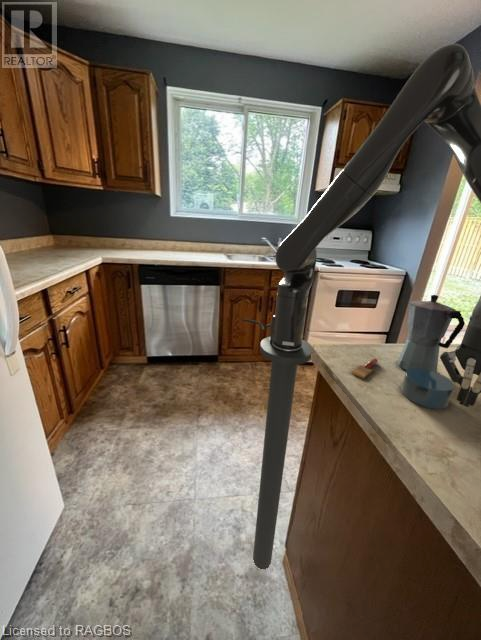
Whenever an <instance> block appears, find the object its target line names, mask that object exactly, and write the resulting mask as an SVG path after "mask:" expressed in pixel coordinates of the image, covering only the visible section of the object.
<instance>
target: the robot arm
mask: <svg viewBox="0 0 481 640" xmlns="http://www.w3.org/2000/svg"><path fill="white" fill-rule="evenodd" d="M423 122H424V123H425V124H427V125H428V126H429V127H430V129H432V130H433V131H434V132H435V133H436V134H438V136H439V137H441V139H442V140H443V141H444V143H445V144H446V145H447V146H448V148H449V149H450V151H451V153H452V154H453V156H454V158H455V160H456V162H457V164H458V166H459V169H460V171H461V173H462V176H464V179H465V181H466V182H467V184H468V185H469V187H470V189H471V191H472V192H473V193H474V195H475V197H476V199H477V200H478V201H479V203H480V204H481V102H480V99H479V95H478V92H477V89H476V86H475V75H474V70H473V65H472V63H471V59H470V56H469V53H468V51H467V50H466V48H465V47H464V46H463V45H461V44H459V43H449V44H447V45H444V46H441V47H440V48H438V49H437V50H435V51H433V52H432V53H431V54H429V56H427V57H426V58H425V59H424V60H423V61H422V62H421V63H420V64H419V65H418V67H417V68H416V69H415V70H414V71H413V73H412V74H411V75H410V77H409V78H408V80H407V81H406V83H405V84H404V86H403V87H402V89H401V90H400V91H399V93H398V94H397V96H396V98H395V99H394V100H393V101H392V103H391V105H390V107H388V110H387V111H386V112H385V114H384V115H383V117H382V118H381V120H379V122H378V124H377V125H376V126H375V128H374V129H373V130H372V131H371V133H370V134H369V135H368V137H367V138H366V139H365V141H364V142H363V143H362V144H361V146H360V147H359V148H358V150H356V152H355V153H354V155H353V156H352V157H351V159H350V160H349V161H348V162H347V163H346V165H345V166H344V167H343V168H342V169H341V171H340V172H339V173H338V174H337V175H336V177H335V178H334V180H333V181H332V182H331V183H330V185H328V187H327V189H326V190H325V191H324V192H323V194H322V195H321V197H320V198H319V199H318V200H317V201H316V203H315V204H314V205H313V206H312V208H311V210H310V211H309V212H308V213H307V215H306V216H305V217H304V219H302V221H301V222H300V223H299V224H298V225H297V226H296V227H295V228H294V229H293V230H292V231H291V233H290V234H288V236H286V238H285V239H283V241H282V242H281V243H280V244H279V245H278V247H277V250H276V253H275V264H276V266H277V268H278V269H279V270H280V271H281V272H284V274H283V277H282V279H281V280H280V282H279V283H278V284H277V288H276V289H277V290H276V300H275V311H274V315H272V317H271V322H270V324H266V325H263V323H261V322H260V321H257V320H254V319H253V320H252V319H247V318H242V320H241V321H243V322H247V323H253V324H257V325H259V326H260V327H261V330H262V331H267V329H268V328H269V332H270V336H269V337H270V344H272V346H273V347H274V348H275V349H277V350H279V351H283V352H297V351H299V350H301V347H302V340H303V338H304V330H305V322H306V315H307V308H308V301H309V293H310V289H311V288H312V285H313V282H314V277H315V271H316V265H317V259H318V257H317V255H318V254H317V253H318V251H317V247H318V246H319V245H320V243H322V241H323V240H324V239H325V238H326V237H327V236H329V235H330V234H331V233H332V232H334V231H335V230H336V229H338V228H339V227H341V226H342V225H343V224H344V223H346V222H347V221H348V220H350V219H351V218H352V217H354V215H356V214H357V213H358V212H359V211H360V210H361V209H362V208H363V207H364V206H365V205H366V204H367V202H368V201H369V200H371V198H372V197H373V196H374V195H375V194H376V192H377V191H378V190H379V189H380V187H381V186H382V184H383V183H384V181H385V179H386V177H387V176H388V174H389V172H390V170H391V168H392V166H393V164H394V161H395V159H396V158H397V156H398V154H399V152H400V151H401V150H402V147H403V146H404V145H405V143H406V142H407V140H408V139H409V138H411V135H413V134H414V133H415V131H416V130H417V129H418V128H419V127H420V126H421V125H422V124H423ZM456 358H457V359H456ZM439 359H440V361H441V363H442V364H443V366H444V369H445V370H446V373H447V375H448V376H449V379H450V381H451V382H452V383H456V384H458V385H459V386H460V388H459V391H458V394H457V396H456V401H457V402H459V405H461V406H464V407H466V408H469V406H471V407H473V406H474V405H475V404H476V401H477V399H478V397H479V395H480V394H481V294H480V295H479V298H478V300H477V302H476V304H475V305H474V308H473V310H472V313H471V315H470V316H469V320H468V324H467V325H466V329H465V332H464V335H463V337H462V339H461V343H460V345H458V346H457V347H456V348H455V350H453V351H443V352H442V353H441V355H440V356H439ZM456 360H458V363H459V365H460V368H461V369H462V370H463V371H464V372H463V376H462V375H461V372H460V371H459V369H458V366H457V365H456V363H455V362H456ZM474 375H476V376H477V378H476V379H475V381H474V383H473V384H472V381H473V377H474ZM471 385H472V386H471Z"/></svg>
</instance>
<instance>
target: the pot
mask: <svg viewBox="0 0 481 640" xmlns="http://www.w3.org/2000/svg"><path fill="white" fill-rule="evenodd" d="M454 389H455V384H454V382H453V381H452V380H451V379H450V378H448V377H446V376H445V375H443V374H441V372H438V371H437V372H435V371H432V370H430V371H429V370H425V369H419V368H412V369H408V370H405V372H404V376H403V380H402V383H401V386H400V392H401V394H402V395H403V397H405V398H406V399H408V400H409V401H411V402H412V403H414V404H416V405H418V406H421V407H424V408H429V409H434V410H443V409H445V408H447V407H448V406H449V403H450V400H451V397H452V395H453V394H454V393H453V392H454Z"/></svg>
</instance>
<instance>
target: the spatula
mask: <svg viewBox="0 0 481 640" xmlns="http://www.w3.org/2000/svg"><path fill="white" fill-rule="evenodd" d="M377 363H378V359H377V358H375V357H374V358H372V359H371V360H370V361H368V362H367V363H366V364H364V365H362V364H361V365H359V366H357V368H355V369H354V370H352V371H351V373H352V375H354V376H356V377H359V378H361V379H365V378H366V377H368V376H369V375H370V374H371V373H372V372H373V369H372V367H374V366H375V365H376V364H377Z"/></svg>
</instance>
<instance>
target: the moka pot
mask: <svg viewBox="0 0 481 640" xmlns="http://www.w3.org/2000/svg"><path fill="white" fill-rule="evenodd" d="M438 299H439V296H438V295H437V294H432V295H431V294H430V300H411V301H410V303H409V307H408V317H407V318H408V319H407V328H406V329H407V338H406V340H405V342H404V345H403V348H402V350H401V353H400V354H399V357H398V360H397V365H398V367H400V368H401V369H403V370H405V371H407V370H408V369H412V368H419V369H425V370H429V371H430V370H432V371H435V372H438V365H439V357H440V356H439V354H440V348H444V349H449V347H450V346H451V345H452V343H453V342H454V341H455V340H456V338H457V336H458V335H459V334H460V333H461V331H463V329H464V326H465V324H466V322H465V319H464V317H463V316H462V313H461V310H456V309H455V308H453V307H451V306H449V305H447V304H444V303H440V302H439V301H438V302H437V300H438ZM453 319H456V320H457V321H458V323H457V325H456V327H454V330H453V331H452V333H450V335H449V337H448V339H447V340H446V341H445V342H444V343H443V342H442V339H443V338H445V336H446V333H447V331H448V329H449V326H450V324H451V322H452V321H453Z"/></svg>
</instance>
